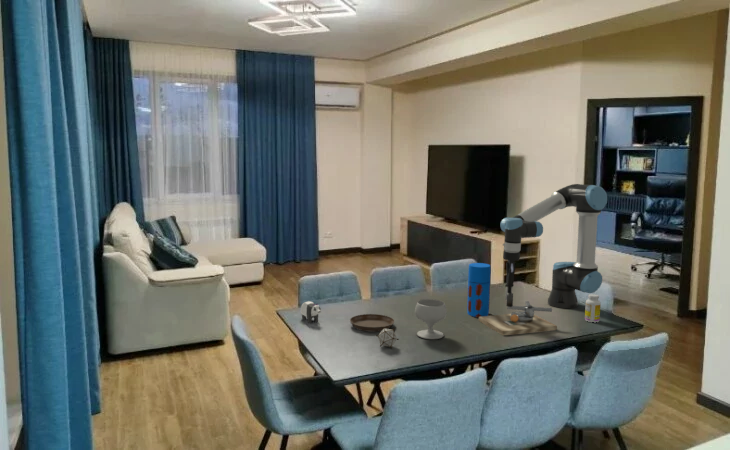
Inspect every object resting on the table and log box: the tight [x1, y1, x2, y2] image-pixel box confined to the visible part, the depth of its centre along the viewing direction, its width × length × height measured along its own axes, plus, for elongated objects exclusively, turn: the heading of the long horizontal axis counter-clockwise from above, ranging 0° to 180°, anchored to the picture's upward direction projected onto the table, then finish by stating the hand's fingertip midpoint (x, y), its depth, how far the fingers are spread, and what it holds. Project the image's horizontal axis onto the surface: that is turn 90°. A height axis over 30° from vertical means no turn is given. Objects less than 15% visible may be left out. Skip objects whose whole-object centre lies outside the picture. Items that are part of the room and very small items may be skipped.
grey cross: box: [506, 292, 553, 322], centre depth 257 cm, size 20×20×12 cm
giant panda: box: [300, 301, 322, 324], centre depth 261 cm, size 15×6×10 cm, turn 33°
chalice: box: [414, 298, 448, 340], centre depth 242 cm, size 14×14×15 cm
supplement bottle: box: [584, 293, 602, 323], centre depth 265 cm, size 7×7×13 cm
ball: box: [511, 314, 519, 322], centre depth 255 cm, size 4×4×4 cm
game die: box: [375, 327, 399, 350], centre depth 229 cm, size 9×8×10 cm
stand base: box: [478, 313, 558, 336], centre depth 258 cm, size 28×22×2 cm
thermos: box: [466, 262, 492, 318], centre depth 274 cm, size 11×11×25 cm
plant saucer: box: [349, 313, 395, 333], centre depth 255 cm, size 21×21×3 cm
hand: (508, 299), depth 261 cm, fingers closed
